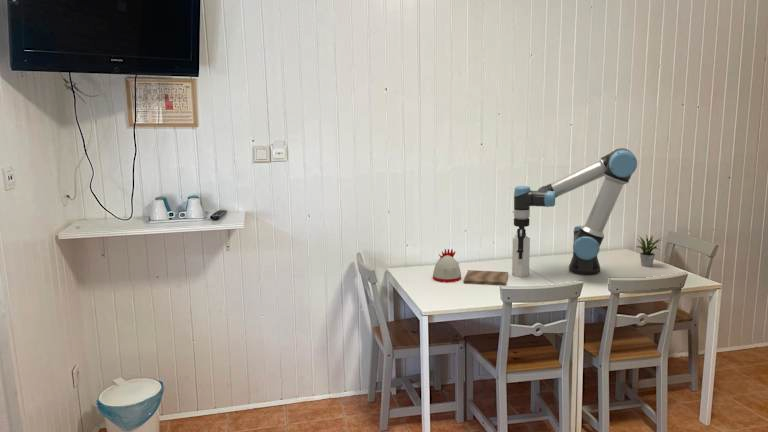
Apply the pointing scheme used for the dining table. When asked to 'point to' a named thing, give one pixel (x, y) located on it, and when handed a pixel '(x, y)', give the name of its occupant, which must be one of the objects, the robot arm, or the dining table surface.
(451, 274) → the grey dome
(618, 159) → the robot arm
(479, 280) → the walnut board
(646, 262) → the house plant
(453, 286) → the dining table surface
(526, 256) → the milk
